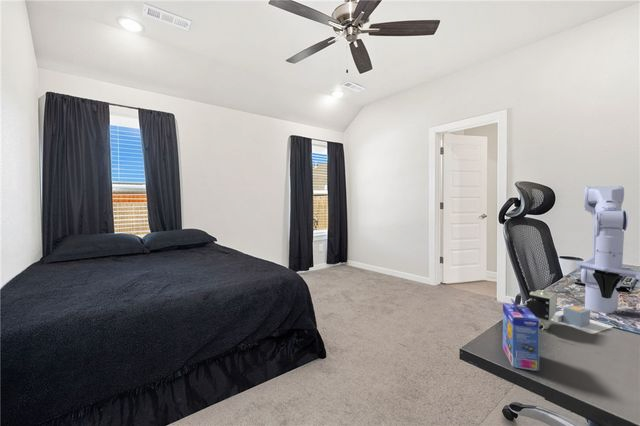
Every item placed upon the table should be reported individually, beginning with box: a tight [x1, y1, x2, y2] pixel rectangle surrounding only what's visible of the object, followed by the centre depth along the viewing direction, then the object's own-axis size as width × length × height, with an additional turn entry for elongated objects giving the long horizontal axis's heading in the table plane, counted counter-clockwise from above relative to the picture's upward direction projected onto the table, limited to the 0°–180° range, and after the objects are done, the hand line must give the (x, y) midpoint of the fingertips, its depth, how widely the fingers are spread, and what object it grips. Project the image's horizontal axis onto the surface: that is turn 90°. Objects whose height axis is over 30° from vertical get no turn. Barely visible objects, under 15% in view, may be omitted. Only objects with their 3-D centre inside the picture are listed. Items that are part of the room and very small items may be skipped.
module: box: [562, 304, 591, 328], centre depth 90 cm, size 5×4×5 cm
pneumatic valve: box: [526, 288, 558, 331], centre depth 88 cm, size 6×12×12 cm, turn 130°
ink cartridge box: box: [502, 298, 540, 372], centre depth 72 cm, size 10×6×14 cm, turn 161°
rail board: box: [550, 310, 615, 335], centre depth 90 cm, size 12×11×3 cm
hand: (606, 297), depth 86 cm, fingers closed
